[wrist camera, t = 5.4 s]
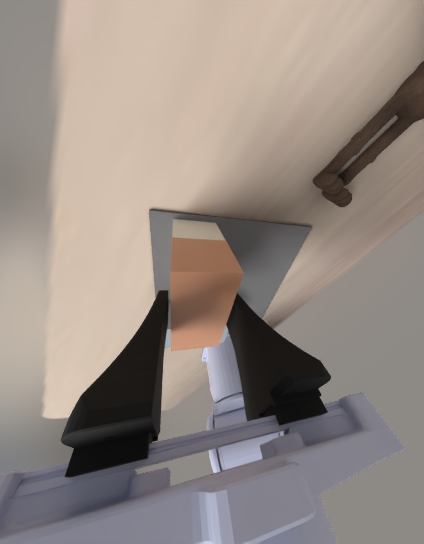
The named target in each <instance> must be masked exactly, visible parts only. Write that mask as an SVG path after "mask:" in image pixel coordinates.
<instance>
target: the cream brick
mask: <svg viewBox="0 0 424 544" xmlns="http://www.w3.org/2000/svg"><path fill="white" fill-rule="evenodd" d="M172 237H174V238H190V239H207V240H223V241H226V240H225V239H224V237H223V235H222V233H221V231H220V229H219V228H218V226H217V224H216V223H212V222H202V221H191V220H181V219H173V233H172Z"/></svg>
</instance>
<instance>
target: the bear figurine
mask: <svg viewBox="0 0 424 544" xmlns="http://www.w3.org/2000/svg"><path fill="white" fill-rule="evenodd" d="M395 114H396V115H397V116H398V118H399V119H398V120H397V121H396V122H395V123H394V124H393V125H392V126H391V127H390V128H389V129H388V130H387V131H386V132H385V133H384V134H382V135H381V136H380V137H379V138H378V139H377V140H376V141H375V142H374V143H373V144H372V145H371V146H370V147H369V148H368V149H367V150H366V151H365V152H364V153H363V154H362V155H361V156H359V157H358V158H357V159H356V160H355V161H354V162H353V163H352V164H351V165H350V166H349V167H348V168H347V169H346V170H345V171H344V172H343V173H342V174H341V175H340V176H339V177H338V176H337V175H336V173H337V172H338V171H339V170H340V169H341V168H342V167H343V166H344V165H345V164H346V163H347V162H348V161H349V160H350V159H351V158H352V157H353V156H355V155H357V154H358V153H359V151H360V150H361V149H362V147H363V146H364V145H365V144H366V143H367V142H368V141H369V140H370V139H371V138H372V137H373V136H374V135H375V134H376V133H377V132H378V131H379V130H380V129H381V128H382V127H383V126H384V125H385V124H386V123H387V122H388V121H389V120H390V119H391V118H392V117H393V116H394V115H395ZM423 118H424V62H423V63H421V64H420V65H419V66H418V68H417V70H416V71H415V72H414V73H413V74H412V75H411V76H410V77H409V78H408V79H407V80H406V81H405V82H404V83H403V84H402V85H401V87H400V88H399V89H398V91H397V92H396V94H395V96H394V97H393V98H392V99H391V100H390V101H389V102H388V103H387V104H386V105H385V106H384V107H383V108H382V110H381V111H380V112H379V113H378V114H377V115H376V116H375V117H374V118H373V119H372V120H371V121H370V122H369V123H368V124H367V125H366V126H365V127H364V128H363V129H362V130H361V131H360V132H359V133H357V134H356V135H354V136H353V138H352V139H351V142H350V143H349V144H348V145H347V146H346V147H344V148H343V149H342V150H341V151H340V152H339V153H338V155H337V156H336V157H335V158H334V159H333V160H332V161H331V162H330V164H329V165H328V166H327V167H326V168H325V169H323V170H322V171H321V172H320V173H319V174H318V175H317V176H316V177H315V178H314V179H313V183H314V184H315V185H316V186H317V187H318V188H320V189H322V190H323V192H322V194H323V195H324V197H325V198H326V199H328V200H329V201H331V202H333V203H334V204H336V205H337V206H339V207H345V206H347V205H348V204H349V203H350V202H351V201H352V194H351V193H350V192H349V191H348V190H347V189H346V188H343V187H344V186H345V185H347V184H349V183H350V182H351V181H352V179H353V178H354V177H355V176H356V175H357V174H358V173H359V172H360V171H361V170H363V169H364V168H365V167H366V166H367V165H368V164H370V163H372V162H373V161H374V160H375V159H376V157H377V156H378V155H379V154H380V153H381V152H382V151H383V150H384V149H385V148H387V147H388V146H389V145H390V144H391V143H392V142H393V141H394V140H395V139H396V138H397V137H399V136H400V135H401V134H402V133H403V132H404V131H405V130H406V129H407V128H408V127H409V126H411V125H412V124H413V123H414V122H416V121H418V120H421V119H423Z"/></svg>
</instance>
